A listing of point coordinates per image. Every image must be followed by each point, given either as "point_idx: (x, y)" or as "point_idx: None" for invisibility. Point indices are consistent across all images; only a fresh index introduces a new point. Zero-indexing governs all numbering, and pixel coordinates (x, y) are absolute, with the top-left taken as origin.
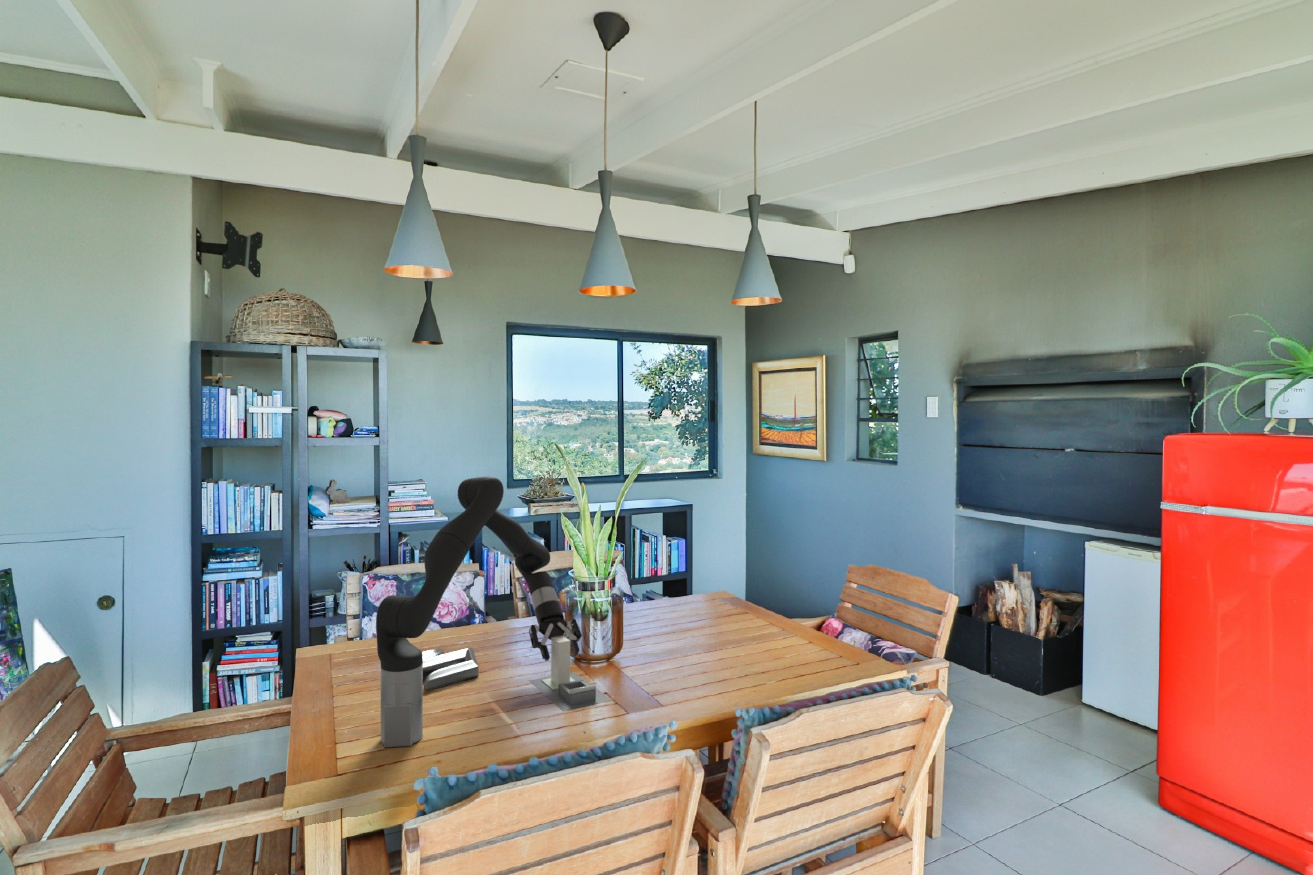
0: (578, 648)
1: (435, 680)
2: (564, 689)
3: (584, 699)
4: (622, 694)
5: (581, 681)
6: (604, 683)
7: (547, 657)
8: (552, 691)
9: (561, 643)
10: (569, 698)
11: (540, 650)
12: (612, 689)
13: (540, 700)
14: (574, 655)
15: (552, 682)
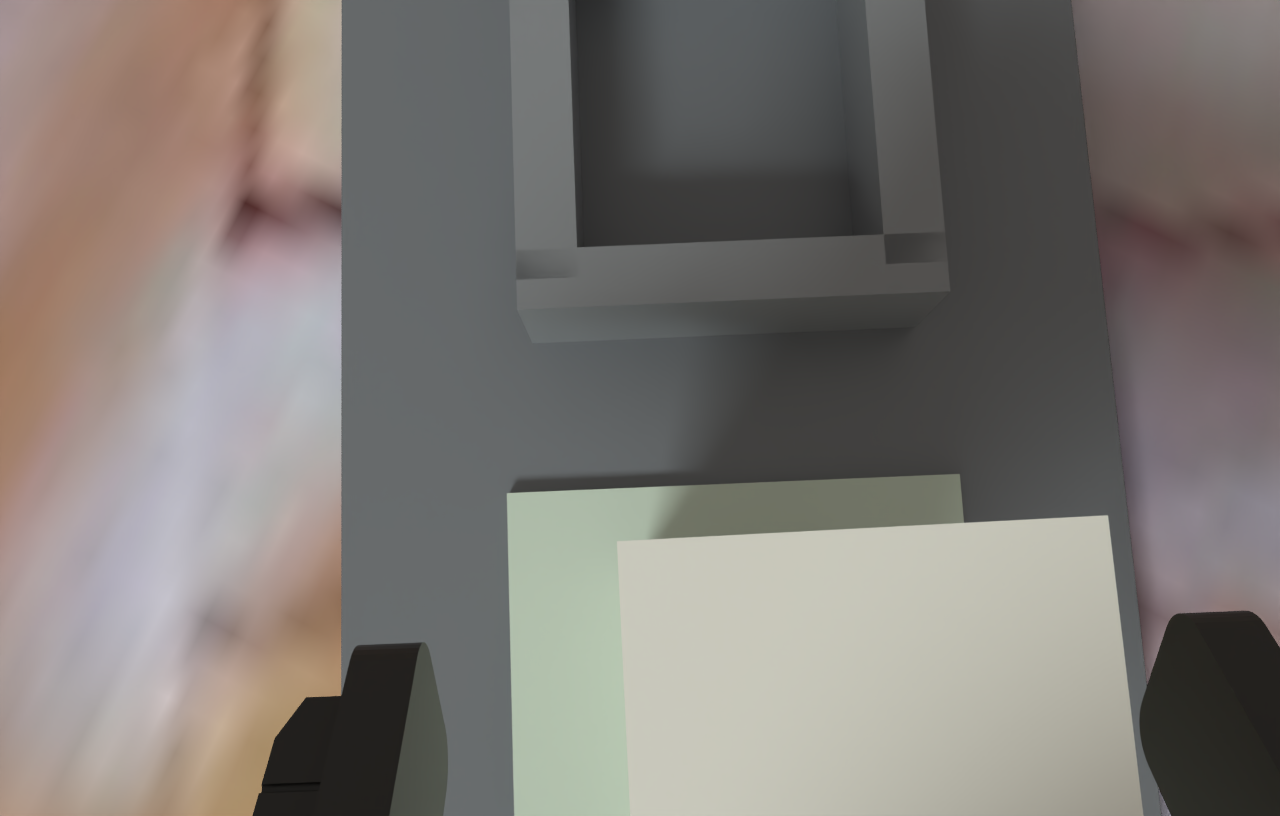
0: (287, 760)
1: None
2: (928, 53)
3: None
4: (81, 71)
5: (562, 235)
6: (96, 547)
7: (1242, 612)
8: (970, 432)
9: (967, 526)
10: None
11: None
12: (109, 286)
13: (1152, 364)
14: (443, 739)
15: None
